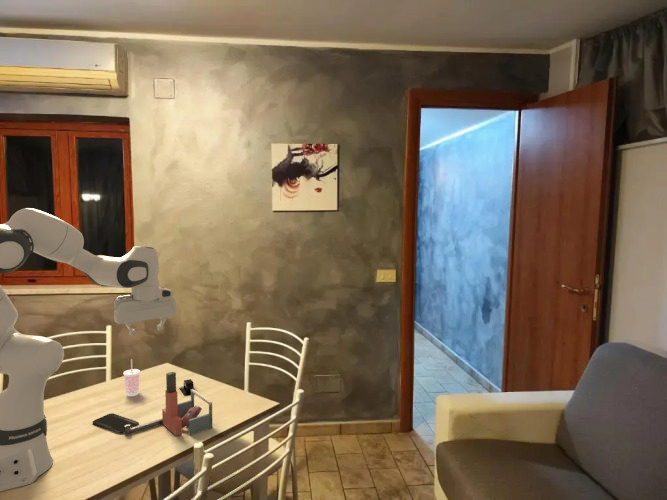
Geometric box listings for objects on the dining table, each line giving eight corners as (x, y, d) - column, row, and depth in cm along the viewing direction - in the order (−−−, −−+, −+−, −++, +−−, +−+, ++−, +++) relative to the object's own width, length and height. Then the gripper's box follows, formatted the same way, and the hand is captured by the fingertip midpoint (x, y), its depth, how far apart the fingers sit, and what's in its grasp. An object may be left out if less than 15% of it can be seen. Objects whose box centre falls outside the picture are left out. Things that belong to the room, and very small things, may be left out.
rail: (125, 435, 149) (125, 426, 149) (124, 434, 150) (124, 425, 150) (167, 422, 159) (167, 414, 158) (166, 421, 159) (166, 413, 159)
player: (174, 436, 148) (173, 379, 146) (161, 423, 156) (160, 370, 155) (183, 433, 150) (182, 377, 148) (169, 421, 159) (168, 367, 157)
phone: (111, 412, 163) (140, 422, 156) (111, 415, 164) (140, 425, 157) (90, 421, 156) (120, 432, 150) (90, 424, 157) (120, 435, 150)
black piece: (201, 395, 182) (201, 384, 182) (183, 399, 178) (183, 388, 178) (193, 385, 192) (192, 374, 192) (175, 388, 189) (175, 377, 188)
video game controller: (184, 435, 153) (192, 418, 152) (172, 428, 154) (181, 411, 152) (198, 421, 163) (206, 405, 162) (187, 415, 163) (195, 399, 162)
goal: (190, 435, 150) (189, 409, 149) (171, 419, 161) (171, 394, 160) (212, 427, 156) (212, 402, 155) (193, 412, 166) (192, 388, 165)
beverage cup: (120, 394, 181) (119, 359, 179) (135, 389, 186) (134, 355, 184) (129, 398, 177) (128, 363, 176) (143, 393, 182) (143, 359, 181)
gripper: (116, 298, 147) (117, 340, 149) (177, 290, 161) (178, 329, 162) (110, 295, 152) (111, 335, 153) (170, 288, 166) (171, 325, 167)
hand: (146, 332), depth 158 cm, fingers open, 8 cm apart
